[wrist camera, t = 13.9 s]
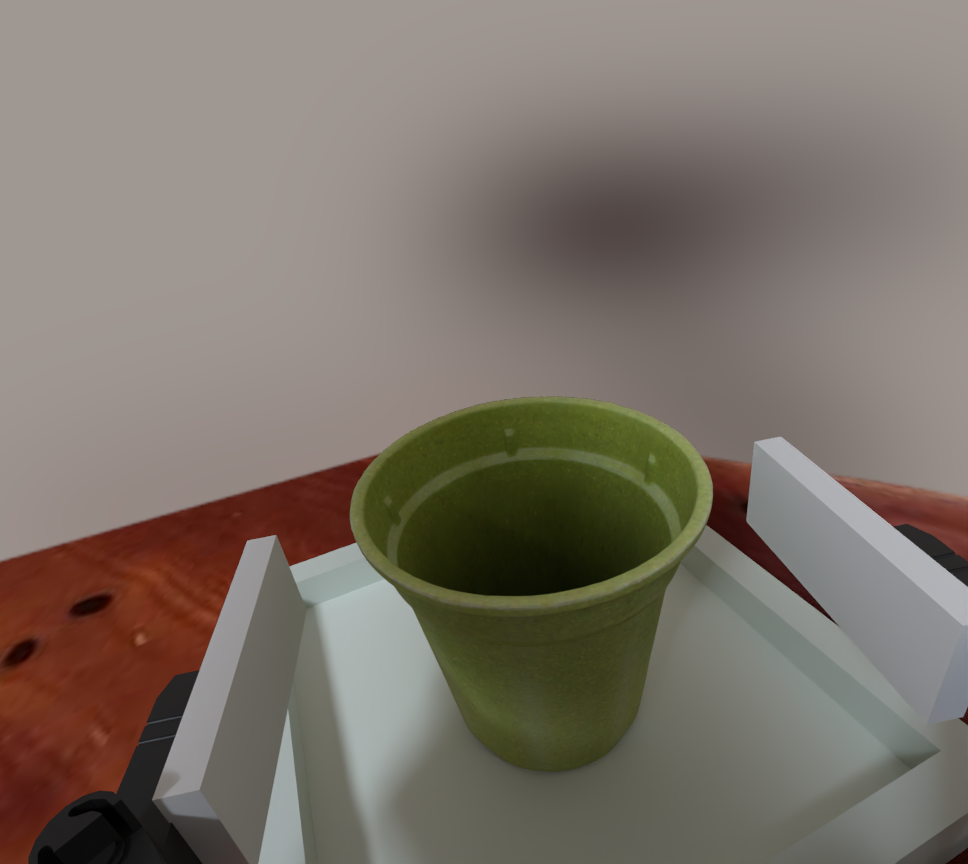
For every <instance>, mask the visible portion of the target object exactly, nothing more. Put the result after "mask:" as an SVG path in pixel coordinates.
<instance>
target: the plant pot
mask: <svg viewBox="0 0 968 864" xmlns="http://www.w3.org/2000/svg"><path fill="white" fill-rule="evenodd" d="M712 501H713V484H712V480H711V476H710V473H709V470H708V468H707V466H706V464H705V462H704V461H703V459H702V457H701V456H700V454H699V453H698V451H697V450H696V449H695V448H694V447H693V445H692V444H691V443H690V442H689V441H688V440H687V439H686V438H685V437H684V436H683V435H681V434H680V433H679V432H677V431H676V430H675V429H673V428H672V427H670V426H669V425H667V424H665V423H663V422H660V421H659V420H657V419H655V418H653V417H651V416H648V415H646V414H644V413H642V412H639V411H636V410H634V409H631V408H626V407H622V406H620V405H617V404H614V403H610V402H603V401H598V400H592V399H584V398H574V397H522V398H514V399H505V400H500V401H493V402H488V403H483V404H478V405H475V406H472V407H468V408H465V409H462V410H458V411H455V412H452V413H450V414H447V415H445V416H442V417H439V418H437V419H435V420H432V421H430V422H428V423H426V424H424V425H422V426H420V427H418V428H416V429H414V430H412V431H410V432H409V433H407V434H405V435H404V436H403V437H401V438H400V439H398V440H397V441H396V442H394V443H393V444H391V445H390V446H389V447H388V448H386V449H385V450H384V451H383V452H382V453H381V454H380V455H379V456H378V457H377V458H376V459H375V460H373V462H372V463H371V464H370V465H369V466H368V468H367V469H366V470H365V472H364V473H363V475H362V477H361V478H360V480H359V481H358V483H357V485H356V487H355V489H354V492H353V496H352V500H351V509H350V523H351V528H352V531H353V534H354V537H355V540H356V542H357V545H358V547H359V549H360V550H361V552H362V554H363V556H364V557H365V558H366V560H367V561H368V563H369V564H370V565H371V566H372V567H373V568H374V569H375V571H376V572H378V573H379V574H380V575H381V576H382V577H383V578H384V579H385V580H387V581H388V582H389V583H390V584H392V585H393V586H394V587H395V588H396V590H397V591H398V593H399V594H400V595H401V597H402V598H403V599H404V600H405V601H406V602H407V603H408V604H409V605H410V606H411V607H412V609H413V611H414V613H415V615H416V617H417V619H418V621H419V624H420V626H421V628H422V630H423V632H424V634H425V637H426V639H427V641H428V643H429V645H430V647H431V649H432V651H433V654H434V656H435V658H436V660H437V662H438V664H439V666H440V668H441V671H442V673H443V675H444V677H445V679H446V682H447V684H448V686H449V688H450V691H451V693H452V695H453V697H454V699H455V701H456V704H457V706H458V708H459V710H460V712H461V714H462V717H463V719H464V721H465V723H466V725H467V727H468V728H469V730H470V732H471V733H472V734H473V735H474V736H475V737H476V738H477V739H478V740H479V741H480V742H481V743H483V744H484V745H485V746H487V747H488V748H489V749H490V750H492V751H493V752H494V753H496V754H497V755H498V756H500V757H501V758H502V759H504V760H505V761H506V762H508V763H510V764H513V765H515V766H518V767H521V768H525V769H529V770H536V771H556V772H558V771H564V770H569V769H575V768H578V767H581V766H584V765H587V764H590V763H592V762H594V761H596V760H598V759H600V758H601V757H603V756H604V755H606V754H607V753H608V752H610V751H611V750H612V749H613V748H614V746H615V745H616V744H617V743H618V741H619V740H620V739H621V738H622V736H623V735H624V734H625V732H626V731H627V730H628V728H629V727H630V725H631V724H632V722H633V721H634V719H635V717H636V716H637V713H638V709H639V705H640V702H641V698H642V693H643V689H644V685H645V681H646V676H647V671H648V666H649V661H650V656H651V652H652V648H653V643H654V639H655V635H656V630H657V626H658V621H659V617H660V613H661V608H662V604H663V599H664V595H665V590H666V588H667V586H668V585H669V583H670V582H671V580H672V579H673V577H674V575H675V573H676V571H677V569H678V567H679V565H680V562H681V560H682V559H683V558H684V557H685V556H686V555H687V554H688V553H689V552H690V551H691V549H692V548H693V547H694V545H695V544H696V543H697V541H698V540H699V538H700V536H701V535H702V533H703V531H704V529H705V527H706V524H707V522H708V519H709V516H710V512H711V507H712Z"/></svg>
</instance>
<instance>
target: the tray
mask: <svg viewBox="0 0 968 864" xmlns="http://www.w3.org/2000/svg"><path fill="white" fill-rule="evenodd" d="M290 570H291V572H292V575H293V577H294V580H295V582H296V585H297V587H298V590H299V592H300V595H301V597H302V600H303V602H304V604H305V607H306V609H307V611H306V616H305V622H304V627H303V632H302V637H301V643H300V648H299V653H298V658H297V664H296V669H295V674H294V679H293V685H292V690H291V695H290V700H289V705H288V711H287V716H286V721H285V726H284V732H283V737H282V742H281V747H280V753H279V758H278V763H277V768H276V773H275V779H274V784H273V789H272V794H271V800H270V805H269V810H268V815H267V821H266V826H265V831H264V836H263V841H262V847H261V852H260V857H259V862H258V864H946V863H947V862H949V861H950V860H952V859H953V858H954V857H956V856H957V855H959V854H960V853H961V852H963V851H964V850H966V849H967V848H968V725H966V724H965V723H964V722H962V721H961V720H960V719H959V718H955V719H951V720H946V721H942V722H937V723H933V724H929V725H926V724H925V723H924V721H923V720H922V719H921V718H920V717H919V716H918V715H917V714H916V712H915V711H914V710H913V709H912V708H911V707H910V706H909V705H908V703H907V702H906V701H905V700H904V699H903V698H902V697H901V695H900V694H899V693H898V692H897V691H896V690H895V689H894V688H893V686H892V685H891V684H890V683H889V682H888V681H887V680H886V679H885V677H884V676H883V675H882V674H881V673H880V672H879V671H878V670H877V668H876V667H875V666H874V665H873V664H872V663H871V662H870V660H869V659H868V658H867V657H866V656H865V655H864V654H863V653H862V651H861V650H860V649H859V648H858V647H857V646H856V645H855V644H854V642H853V641H852V640H851V639H850V638H849V637H848V636H847V634H846V633H845V632H844V631H843V630H842V629H841V628H840V627H839V626H837V625H836V624H835V623H833V622H832V621H831V620H830V619H828V618H827V617H826V616H824V615H823V614H822V613H820V612H819V611H818V610H816V609H815V608H814V607H813V606H811V605H810V604H809V603H807V602H806V601H805V600H803V599H802V598H801V597H800V596H798V595H797V594H796V593H794V592H793V591H792V590H790V589H789V588H788V587H787V586H785V585H784V584H783V583H781V582H780V581H779V580H777V579H776V578H775V577H773V576H772V575H771V574H770V573H768V572H767V571H766V570H764V569H763V568H762V567H760V566H759V565H758V564H757V563H755V562H754V561H753V560H751V559H750V558H749V557H747V556H746V555H745V554H744V553H742V552H741V551H740V550H738V549H737V548H736V547H734V546H733V545H732V544H731V543H729V542H728V541H727V540H725V539H724V538H723V537H721V536H720V535H719V534H717V533H716V532H715V531H714V530H712V529H711V528H710V527H708V526H707V525H706V527H705V529H704V531H703V533H702V535H701V536H700V538H699V540H698V541H697V543H696V544H695V545H694V547H693V548H692V549H691V551H690V552H689V553H688V554H687V555H686V556H685V557H684V558H683V559H682V560H681V562H680V565H679V567H678V569H677V571H676V573H675V575H674V577H673V579H672V580H671V582H670V583H669V585H668V586H667V588H666V590H665V595H664V599H663V604H662V608H661V613H660V617H659V621H658V626H657V630H656V635H655V639H654V643H653V648H652V652H651V656H650V661H649V666H648V671H647V676H646V681H645V685H644V689H643V693H642V698H641V702H640V705H639V709H638V713H637V716H636V717H635V719H634V721H633V722H632V724H631V725H630V727H629V728H628V730H627V731H626V732H625V734H624V735H623V736H622V738H621V739H620V740H619V741H618V743H617V744H616V745H615V746H614V748H613V749H612V750H611V751H610V752H608V753H607V754H606V755H604V756H603V757H601V758H600V759H598V760H596V761H594V762H592V763H590V764H587V765H584V766H581V767H578V768H575V769H569V770H564V771H558V772H556V771H536V770H529V769H525V768H521V767H518V766H515V765H513V764H510V763H508V762H506V761H505V760H504V759H502V758H501V757H500V756H498V755H497V754H496V753H494V752H493V751H492V750H490V749H489V748H488V747H487V746H485V745H484V744H483V743H481V742H480V741H479V740H478V739H477V738H476V737H475V736H474V735H473V734H472V733H471V732H470V730H469V728H468V727H467V725H466V723H465V721H464V719H463V717H462V714H461V712H460V710H459V708H458V706H457V704H456V701H455V699H454V697H453V695H452V693H451V691H450V688H449V686H448V684H447V682H446V679H445V677H444V675H443V673H442V671H441V668H440V666H439V664H438V662H437V660H436V658H435V656H434V654H433V651H432V649H431V647H430V645H429V643H428V641H427V639H426V637H425V634H424V632H423V630H422V628H421V626H420V624H419V621H418V619H417V617H416V615H415V613H414V611H413V609H412V607H411V606H410V605H409V604H408V603H407V602H406V601H405V600H404V599H403V598H402V597H401V595H400V594H399V593H398V591H397V590H396V588H395V587H394V586H393V585H392V584H390V583H389V582H388V581H387V580H385V579H384V578H383V577H382V576H381V575H380V574H379V573H378V572H376V571H375V569H374V568H373V567H372V566H371V565H370V564H369V563H368V561H367V560H366V558H365V557H364V556H363V554H362V552H361V550H360V549H359V547H358V545H357V543H354V544H352V545H349V546H346V547H343V548H340V549H338V550H335V551H332V552H329V553H326V554H324V555H321V556H318V557H315V558H312V559H310V560H307V561H304V562H301V563H299V564H296V565H293V566H290Z"/></svg>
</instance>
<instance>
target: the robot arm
mask: <svg viewBox="0 0 968 864" xmlns="http://www.w3.org/2000/svg"><path fill="white" fill-rule="evenodd" d="M746 522H747V523H748V524H749V525H750V526H751V527H752V528H753V529H754V531H755V532H756V533H757V534H758V535H759V536H760V537H761V539H762V540H763V541H764V542H765V543H766V544H767V545H768V546H769V548H770V549H771V550H772V551H773V552H774V553H775V554H776V555H777V557H778V558H779V559H780V560H781V561H782V562H783V563H784V564H785V566H786V567H787V568H788V569H789V570H790V571H791V572H792V574H793V575H794V576H795V577H796V578H797V579H798V580H799V581H800V583H801V584H802V585H803V586H804V587H805V588H806V589H807V590H808V592H809V593H810V594H811V595H812V596H813V597H814V598H815V599H816V601H817V602H818V603H819V604H820V605H821V606H822V607H823V609H824V610H825V611H826V612H827V613H828V614H829V615H830V616H831V618H832V619H833V620H834V621H835V622H836V623H837V624H838V625H839V627H840V628H841V629H842V630H843V631H844V632H845V633H846V634H847V636H848V637H849V638H850V639H851V640H852V641H853V642H854V644H855V645H856V646H857V647H858V648H859V649H860V650H861V651H862V653H863V654H864V655H865V656H866V657H867V658H868V659H869V660H870V662H871V663H872V664H873V665H874V666H875V667H876V668H877V670H878V671H879V672H880V673H881V674H882V675H883V676H884V677H885V679H886V680H887V681H888V682H889V683H890V684H891V685H892V686H893V688H894V689H895V690H896V691H897V692H898V693H899V694H900V695H901V697H902V698H903V699H904V700H905V701H906V702H907V703H908V705H909V706H910V707H911V708H912V709H913V710H914V711H915V712H916V714H917V715H918V716H919V717H920V718H921V719H922V720H923V721H924V723H925V724H926V725H929V724H933V723H937V722H942V721H946V720H951V719H955V718H960V717H963V716H964V714H965V712H966V709H967V707H968V562H967V561H966V560H964V559H963V558H962V557H960V556H959V555H958V556H956V555H955V552H954V551H953V550H951V549H950V548H949V547H947V546H946V545H945V544H943V543H942V542H941V541H939V540H938V539H937V538H936V537H934V536H932V535H930V534H928V533H926V532H924V531H921V530H919V529H917V528H915V527H913V526H910V525H908V524H904V525H900V526H895V527H893V526H891V525H890V524H889V523H888V522H886V521H885V520H884V519H883V518H881V517H880V516H879V515H878V514H876V513H875V512H874V511H873V510H871V509H870V508H869V507H868V506H866V505H865V504H864V503H863V502H861V501H860V500H859V499H858V498H857V497H855V496H854V495H853V494H852V493H850V492H849V491H848V490H847V489H845V488H844V487H843V486H842V485H840V484H839V483H838V482H837V481H835V480H834V479H833V478H832V477H830V476H829V475H828V474H827V473H825V472H824V471H823V470H822V469H820V468H819V467H818V466H817V465H816V464H814V463H813V462H812V461H811V460H809V459H808V458H807V457H806V456H804V455H803V454H802V453H801V452H799V451H798V450H797V449H796V448H794V447H793V446H792V445H791V444H789V443H788V442H787V441H786V440H784V439H783V438H782V437H777V438H771V439H766V440H761V441H756V442H754V450H753V459H752V469H751V479H750V489H749V499H748V509H747V519H746ZM306 611H307V609H306V607H305V604H304V602H303V600H302V597H301V595H300V592H299V590H298V587H297V585H296V582H295V580H294V577H293V575H292V572H291V570H290V567H289V565H288V562H287V560H286V557H285V555H284V553H283V550H282V548H281V545H280V543H279V540H278V538H277V535H274V536H269V537H264V538H258V539H253V540H248V541H247V543H246V546H245V548H244V551H243V554H242V557H241V559H240V562H239V565H238V567H237V570H236V573H235V576H234V578H233V581H232V584H231V586H230V589H229V592H228V595H227V597H226V600H225V603H224V605H223V608H222V611H221V614H220V616H219V619H218V622H217V625H216V627H215V630H214V633H213V635H212V638H211V641H210V644H209V646H208V649H207V652H206V654H205V657H204V660H203V663H202V665H201V668H200V670H199V671H194V672H189V673H184V674H179V675H175V676H174V678H173V679H172V680H171V681H170V683H169V684H168V685H167V686H166V688H165V689H164V690H163V691H162V692H161V694H160V695H159V696H158V697H157V699H156V702H155V704H154V706H153V709H152V711H151V714H150V716H149V718H148V721H147V726H145V728H144V730H143V732H142V735H141V737H140V739H139V746H136V749H135V751H134V754H133V756H132V758H131V761H130V763H129V765H128V768H127V770H126V772H125V775H124V777H123V779H122V782H121V784H120V787H119V789H118V791H117V794H115V793H114V792H109V791H97V792H94V793H91V794H88V795H84V796H82V797H81V798H79V799H77V800H76V801H74V802H72V803H71V804H69V805H67V806H66V807H65V808H64V809H62V810H61V811H60V812H59V813H58V814H57V815H56V816H55V817H54V818H53V819H52V820H50V821H49V823H48V824H47V825H46V827H45V828H44V829H43V831H42V832H41V833H40V835H39V836H38V838H37V839H36V841H35V843H34V846H33V848H32V850H31V853H30V855H29V864H258V862H259V857H260V852H261V847H262V841H263V836H264V831H265V826H266V821H267V815H268V810H269V805H270V800H271V794H272V789H273V784H274V779H275V773H276V768H277V763H278V758H279V753H280V747H281V742H282V737H283V732H284V726H285V721H286V716H287V711H288V705H289V700H290V695H291V690H292V685H293V679H294V674H295V669H296V664H297V658H298V653H299V648H300V643H301V637H302V632H303V627H304V622H305V616H306Z"/></svg>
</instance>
